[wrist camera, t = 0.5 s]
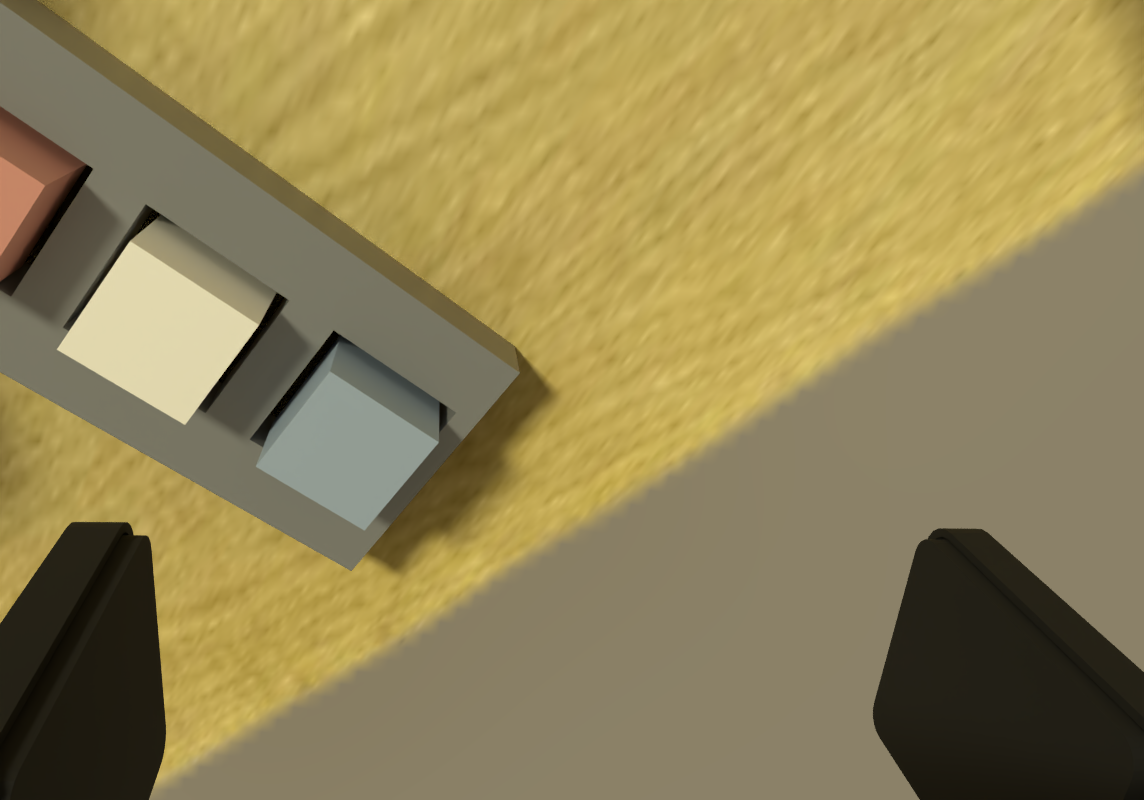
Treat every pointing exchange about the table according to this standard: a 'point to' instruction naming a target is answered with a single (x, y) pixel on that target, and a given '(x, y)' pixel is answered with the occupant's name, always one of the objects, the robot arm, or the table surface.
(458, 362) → the keypad base
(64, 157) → the brick-red key
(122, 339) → the off-white key
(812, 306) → the table surface
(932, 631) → the robot arm
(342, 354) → the slate-blue key
